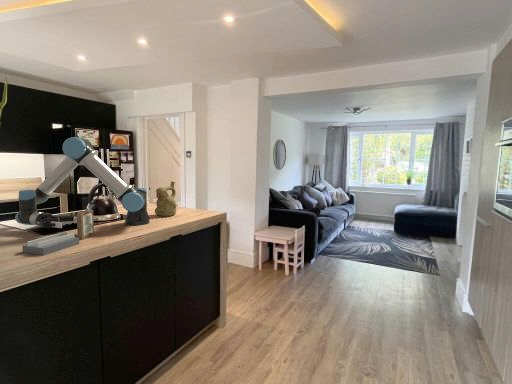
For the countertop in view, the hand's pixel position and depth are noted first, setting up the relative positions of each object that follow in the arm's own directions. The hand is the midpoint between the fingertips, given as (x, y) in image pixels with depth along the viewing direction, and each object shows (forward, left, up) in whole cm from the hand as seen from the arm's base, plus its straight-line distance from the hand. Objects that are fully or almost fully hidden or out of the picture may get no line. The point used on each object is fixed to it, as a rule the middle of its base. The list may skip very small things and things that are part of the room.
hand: (73, 222), depth 154 cm
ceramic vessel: (-69, +13, -8) cm, 71 cm away
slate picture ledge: (+19, +8, -7) cm, 22 cm away
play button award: (-27, -32, -8) cm, 43 cm away
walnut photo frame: (0, +8, -7) cm, 11 cm away
